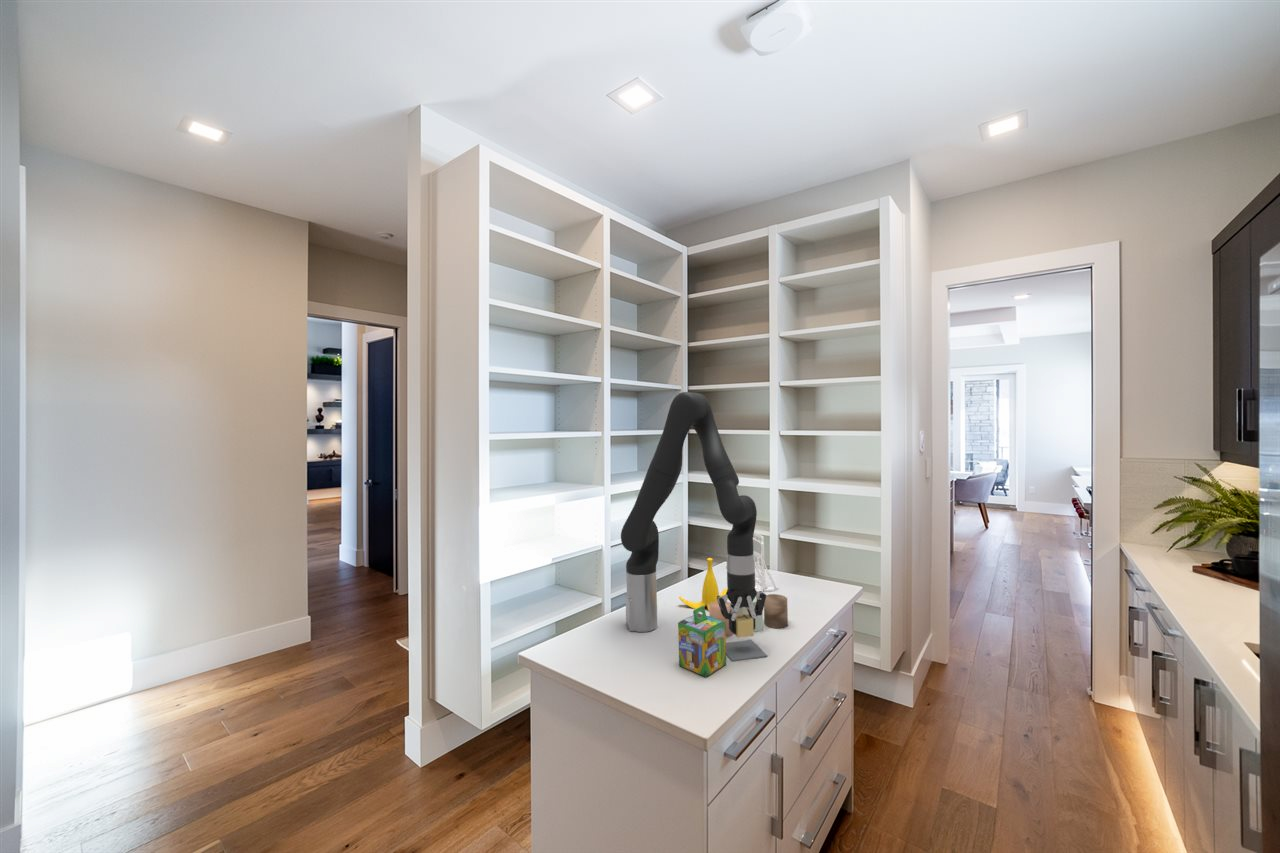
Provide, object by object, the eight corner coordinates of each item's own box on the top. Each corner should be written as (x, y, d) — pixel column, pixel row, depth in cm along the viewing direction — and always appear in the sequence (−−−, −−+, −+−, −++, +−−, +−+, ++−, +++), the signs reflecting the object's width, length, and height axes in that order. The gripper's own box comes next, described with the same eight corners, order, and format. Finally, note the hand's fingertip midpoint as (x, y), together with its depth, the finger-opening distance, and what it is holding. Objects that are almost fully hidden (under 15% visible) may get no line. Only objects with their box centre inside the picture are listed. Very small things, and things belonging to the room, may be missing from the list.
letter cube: (738, 637, 138) (737, 620, 138) (731, 631, 143) (731, 614, 142) (753, 635, 139) (753, 618, 139) (746, 629, 143) (746, 612, 143)
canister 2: (770, 629, 154) (770, 603, 154) (760, 620, 161) (759, 595, 161) (792, 627, 155) (791, 601, 155) (781, 618, 162) (780, 593, 162)
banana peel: (677, 606, 175) (676, 557, 175) (726, 597, 182) (725, 550, 182) (700, 624, 160) (699, 570, 159) (752, 614, 167) (751, 563, 166)
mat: (731, 661, 135) (731, 660, 135) (718, 644, 145) (718, 643, 145) (767, 657, 137) (767, 655, 137) (751, 640, 147) (751, 639, 147)
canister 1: (714, 638, 149) (714, 610, 149) (706, 628, 156) (706, 602, 156) (737, 635, 151) (736, 608, 151) (728, 625, 158) (727, 599, 157)
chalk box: (706, 678, 127) (704, 619, 127) (677, 666, 133) (676, 609, 133) (727, 664, 134) (726, 608, 133) (699, 653, 140) (698, 599, 140)
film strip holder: (728, 582, 198) (727, 530, 198) (761, 578, 202) (760, 527, 201) (744, 594, 184) (743, 539, 184) (780, 590, 188) (779, 536, 187)
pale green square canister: (742, 633, 152) (741, 603, 152) (733, 623, 159) (733, 595, 159) (763, 630, 154) (763, 601, 153) (754, 621, 160) (753, 593, 160)
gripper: (720, 576, 135) (722, 640, 136) (771, 571, 138) (772, 634, 139) (711, 568, 143) (712, 629, 143) (759, 563, 146) (760, 623, 146)
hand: (742, 631), depth 141 cm, fingers closed on letter cube, 4 cm apart
